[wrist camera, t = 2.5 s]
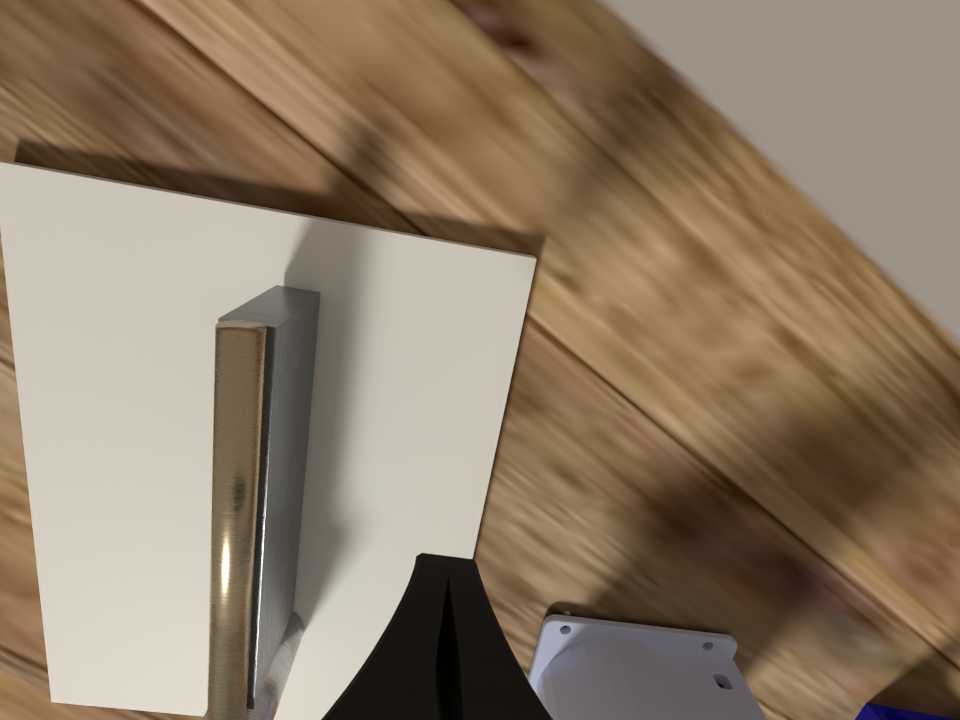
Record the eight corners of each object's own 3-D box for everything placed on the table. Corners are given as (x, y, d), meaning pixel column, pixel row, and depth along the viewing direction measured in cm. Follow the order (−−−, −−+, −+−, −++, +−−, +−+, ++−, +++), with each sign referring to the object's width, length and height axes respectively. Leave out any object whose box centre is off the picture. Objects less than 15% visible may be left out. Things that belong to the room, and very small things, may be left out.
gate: (320, 292, 18) (263, 338, 13) (293, 607, 23) (242, 738, 17) (276, 285, 18) (200, 328, 13) (258, 603, 22) (195, 733, 17)
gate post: (311, 595, 24) (253, 754, 17) (307, 635, 25) (250, 802, 18) (257, 589, 24) (178, 747, 17) (255, 630, 24) (178, 796, 18)
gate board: (533, 255, 19) (536, 258, 18) (434, 722, 27) (434, 738, 26) (12, 161, 18) (-7, 160, 17) (63, 686, 25) (51, 701, 24)
